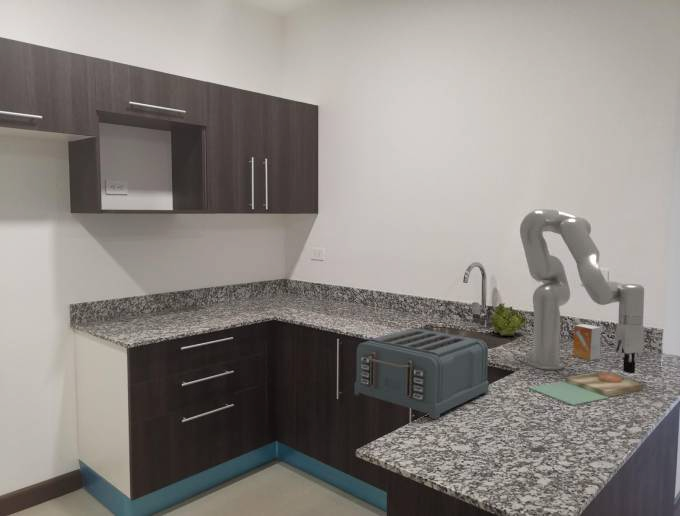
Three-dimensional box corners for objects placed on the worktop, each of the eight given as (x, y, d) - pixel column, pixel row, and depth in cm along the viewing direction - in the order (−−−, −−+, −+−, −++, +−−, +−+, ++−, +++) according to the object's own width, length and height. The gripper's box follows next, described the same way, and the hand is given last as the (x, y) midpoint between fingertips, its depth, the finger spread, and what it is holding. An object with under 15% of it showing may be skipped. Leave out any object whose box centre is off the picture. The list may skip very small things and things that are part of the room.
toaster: (344, 397, 171) (345, 341, 170) (411, 373, 197) (412, 325, 196) (426, 423, 150) (428, 360, 149) (489, 393, 177) (490, 339, 175)
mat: (528, 388, 181) (528, 387, 181) (562, 382, 188) (562, 381, 188) (573, 405, 165) (573, 404, 165) (608, 398, 172) (608, 397, 172)
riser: (565, 383, 187) (565, 377, 187) (600, 376, 195) (601, 371, 195) (606, 397, 173) (606, 391, 173) (642, 389, 181) (643, 384, 181)
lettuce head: (520, 342, 247) (522, 307, 246) (486, 338, 254) (487, 304, 253) (527, 334, 263) (528, 301, 262) (494, 331, 270) (495, 299, 269)
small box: (572, 356, 224) (573, 324, 222) (582, 354, 227) (583, 323, 226) (590, 360, 217) (591, 328, 216) (600, 358, 220) (601, 327, 219)
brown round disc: (593, 378, 187) (593, 374, 186) (607, 375, 190) (607, 371, 190) (612, 384, 180) (612, 379, 180) (625, 381, 184) (626, 376, 183)
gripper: (634, 316, 194) (633, 367, 195) (606, 320, 187) (604, 372, 189) (655, 319, 187) (653, 372, 189) (626, 323, 181) (624, 377, 182)
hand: (628, 372), depth 189 cm, fingers closed
